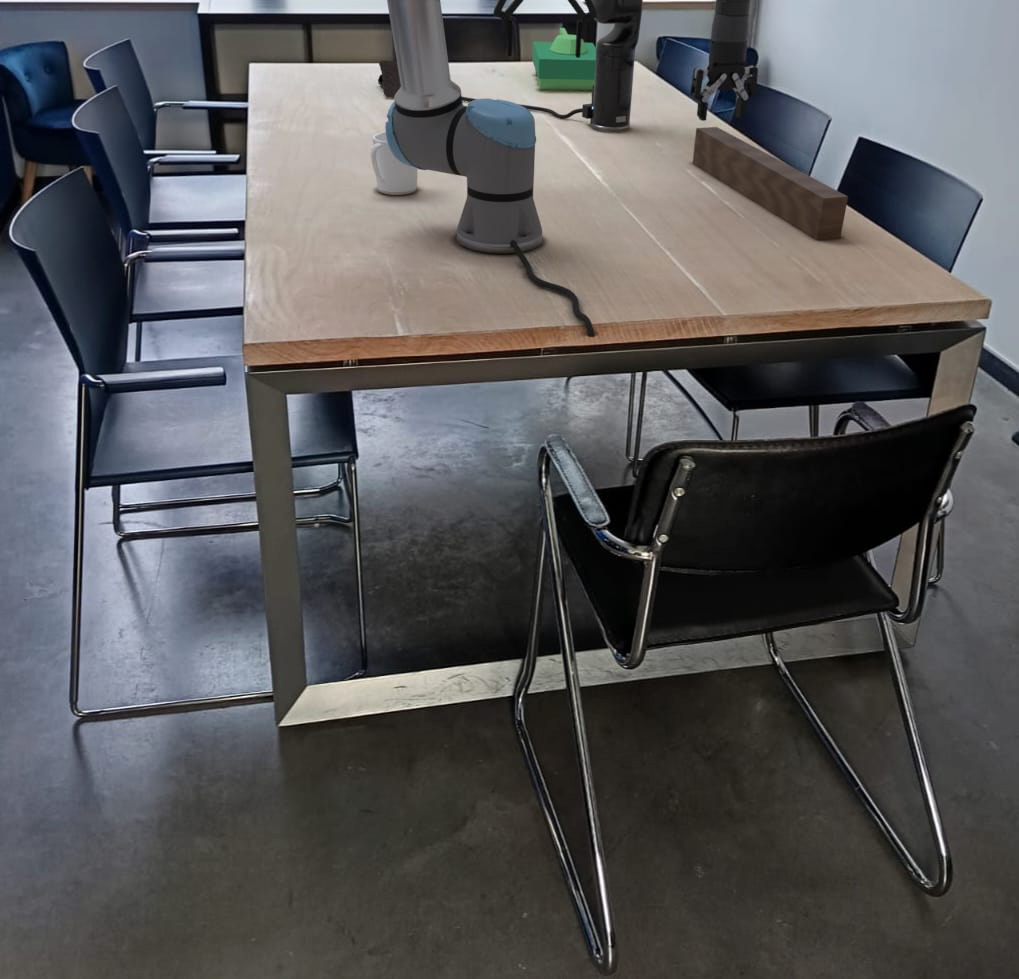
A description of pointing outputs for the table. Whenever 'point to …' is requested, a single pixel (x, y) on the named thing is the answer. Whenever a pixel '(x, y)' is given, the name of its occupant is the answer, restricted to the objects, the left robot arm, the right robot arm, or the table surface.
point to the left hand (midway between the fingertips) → (543, 56)
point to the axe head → (389, 78)
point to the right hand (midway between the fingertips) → (720, 118)
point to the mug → (391, 169)
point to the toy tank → (564, 63)
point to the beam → (771, 183)
